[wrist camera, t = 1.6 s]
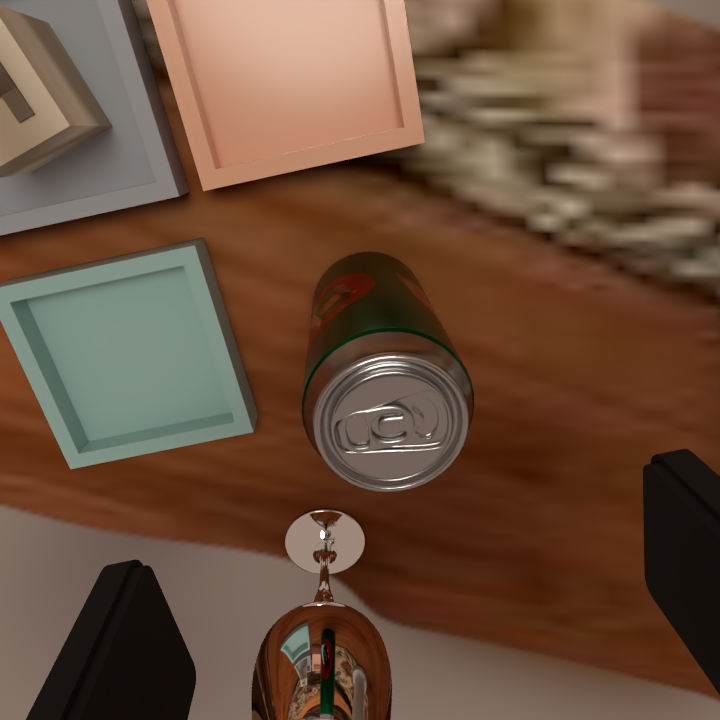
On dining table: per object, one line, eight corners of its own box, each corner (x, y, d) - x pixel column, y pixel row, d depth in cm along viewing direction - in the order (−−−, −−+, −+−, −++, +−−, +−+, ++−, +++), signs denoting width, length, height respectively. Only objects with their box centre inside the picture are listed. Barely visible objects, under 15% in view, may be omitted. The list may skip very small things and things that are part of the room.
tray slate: (113, -56, 21) (94, -71, 20) (189, 191, 25) (179, 196, 23) (-118, -2, 22) (-156, -12, 20) (-12, 235, 25) (-36, 243, 23)
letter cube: (48, 23, 22) (-13, 0, 18) (112, 125, 23) (68, 125, 19) (-37, 75, 22) (-114, 65, 18) (30, 173, 24) (-28, 182, 20)
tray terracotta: (378, -118, 21) (383, -140, 19) (418, 141, 24) (425, 142, 23) (140, -62, 21) (123, -78, 20) (212, 186, 25) (203, 190, 23)
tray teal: (203, 237, 25) (194, 245, 24) (258, 414, 29) (253, 432, 27) (9, 279, 26) (-14, 290, 24) (85, 449, 29) (70, 469, 27)
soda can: (428, 343, 28) (491, 487, 17) (325, 362, 28) (320, 518, 17) (412, 239, 26) (473, 324, 15) (302, 260, 26) (280, 361, 15)
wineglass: (259, 567, 32) (221, 796, 21) (292, 486, 30) (268, 692, 19) (355, 592, 33) (365, 824, 22) (392, 515, 31) (424, 727, 20)
